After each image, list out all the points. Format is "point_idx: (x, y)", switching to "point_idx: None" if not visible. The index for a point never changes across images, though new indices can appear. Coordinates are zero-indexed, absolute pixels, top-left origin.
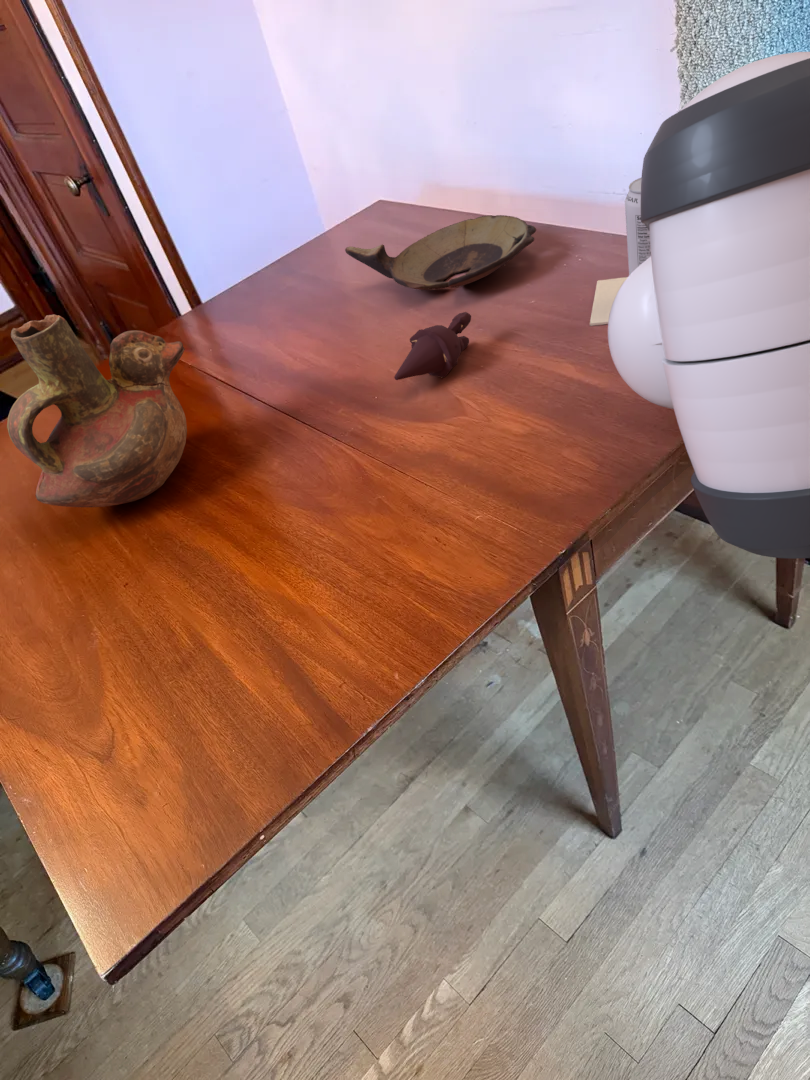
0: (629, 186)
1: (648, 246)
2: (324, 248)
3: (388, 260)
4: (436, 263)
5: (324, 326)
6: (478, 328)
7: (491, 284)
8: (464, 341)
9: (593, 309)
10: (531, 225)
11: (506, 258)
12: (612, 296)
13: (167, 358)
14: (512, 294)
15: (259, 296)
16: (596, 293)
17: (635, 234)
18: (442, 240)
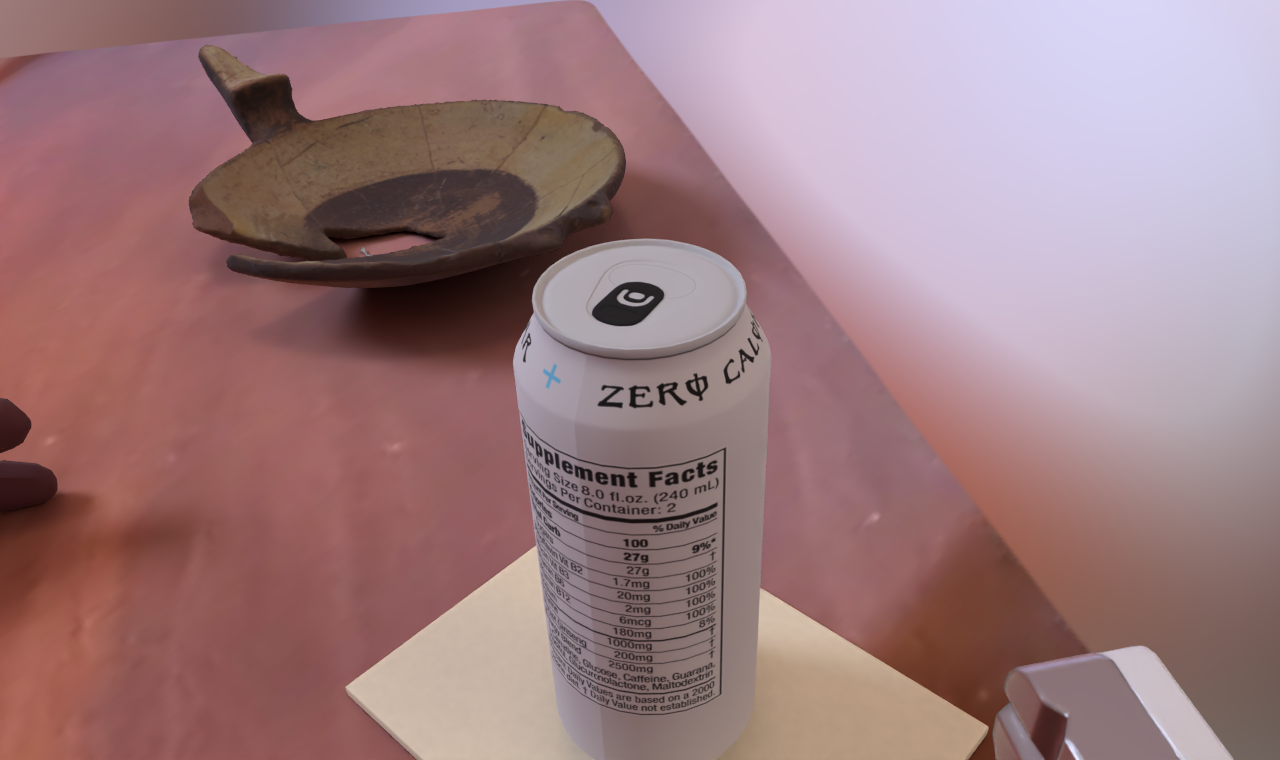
0: (563, 259)
1: (559, 569)
2: (366, 39)
3: (274, 121)
4: (403, 182)
5: (44, 213)
6: (175, 449)
7: (419, 314)
8: (11, 488)
9: (439, 621)
10: (607, 200)
11: (411, 269)
12: None
13: None
14: (402, 382)
15: (127, 79)
16: (536, 550)
17: (528, 483)
18: (469, 130)
